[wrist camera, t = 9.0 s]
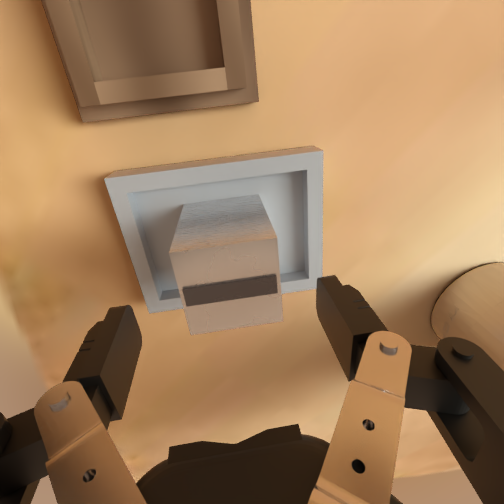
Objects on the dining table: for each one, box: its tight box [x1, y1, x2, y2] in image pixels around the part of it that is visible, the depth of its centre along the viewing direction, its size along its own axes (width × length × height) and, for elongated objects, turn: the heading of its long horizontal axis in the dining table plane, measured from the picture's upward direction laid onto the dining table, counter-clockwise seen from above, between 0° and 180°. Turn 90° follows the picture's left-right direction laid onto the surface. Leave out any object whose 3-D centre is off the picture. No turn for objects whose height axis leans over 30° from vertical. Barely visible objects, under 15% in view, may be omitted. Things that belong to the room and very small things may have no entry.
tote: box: [104, 146, 323, 313], centre depth 21 cm, size 13×10×2 cm
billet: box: [169, 194, 283, 335], centre depth 18 cm, size 5×5×7 cm
